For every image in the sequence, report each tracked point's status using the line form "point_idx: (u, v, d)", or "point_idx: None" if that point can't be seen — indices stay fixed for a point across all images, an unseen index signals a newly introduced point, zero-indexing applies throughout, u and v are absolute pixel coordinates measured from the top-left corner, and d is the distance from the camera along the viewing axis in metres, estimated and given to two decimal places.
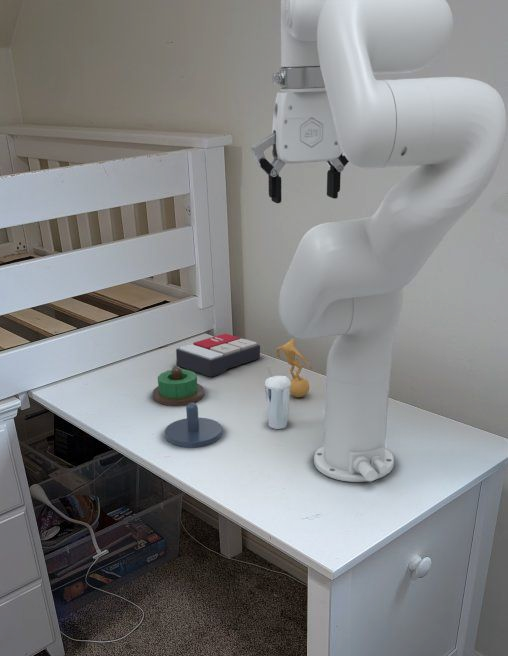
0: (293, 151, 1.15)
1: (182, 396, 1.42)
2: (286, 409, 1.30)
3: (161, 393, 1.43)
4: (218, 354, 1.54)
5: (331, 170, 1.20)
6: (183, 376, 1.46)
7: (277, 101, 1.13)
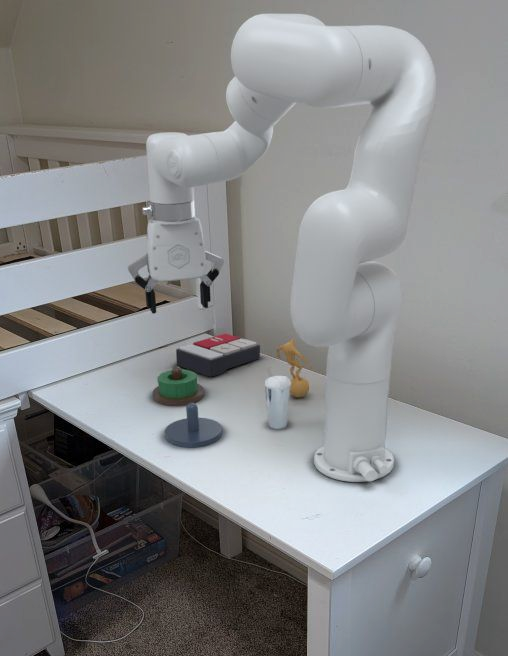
0: (163, 272, 1.30)
1: (182, 396, 1.42)
2: (286, 409, 1.30)
3: (161, 393, 1.43)
4: (218, 354, 1.54)
5: (202, 283, 1.36)
6: (183, 376, 1.46)
7: (147, 229, 1.28)
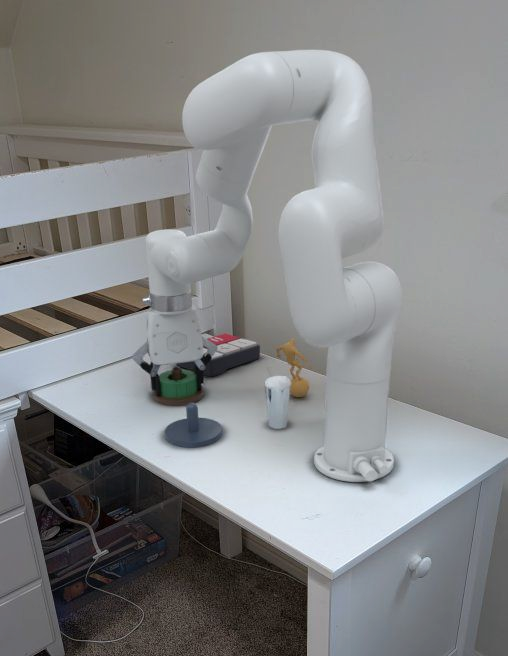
0: (162, 356, 1.38)
1: (182, 396, 1.42)
2: (286, 409, 1.30)
3: (161, 393, 1.43)
4: (218, 354, 1.54)
5: (195, 367, 1.44)
6: (183, 376, 1.46)
7: (147, 318, 1.37)
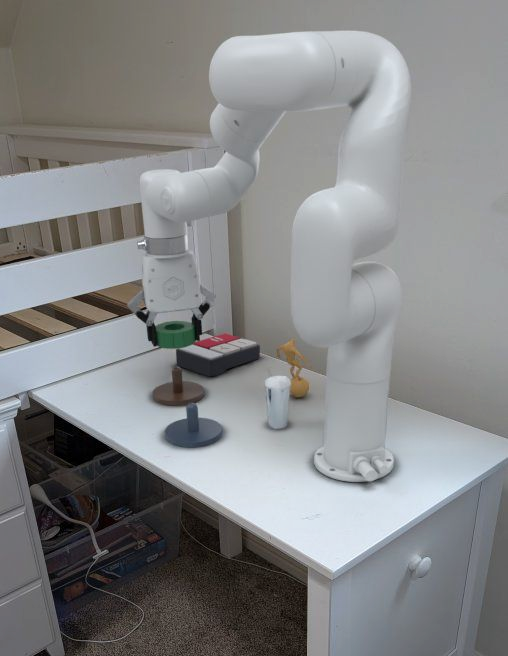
0: (158, 304, 1.33)
1: (179, 346, 1.37)
2: (286, 409, 1.30)
3: (158, 344, 1.38)
4: (218, 354, 1.54)
5: (193, 317, 1.39)
6: (180, 327, 1.40)
7: (143, 263, 1.32)
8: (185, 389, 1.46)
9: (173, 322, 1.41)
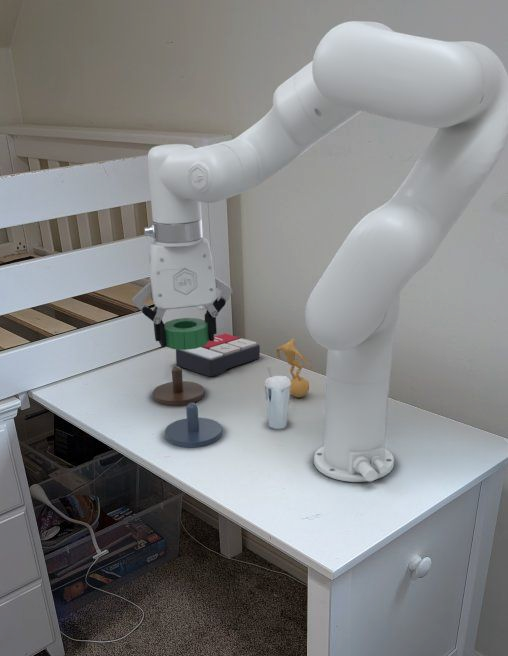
0: (168, 299, 1.17)
1: (191, 347, 1.21)
2: (286, 409, 1.30)
3: (166, 344, 1.22)
4: (218, 354, 1.54)
5: (207, 314, 1.23)
6: (192, 325, 1.24)
7: (150, 252, 1.15)
8: (185, 389, 1.46)
9: (184, 319, 1.25)
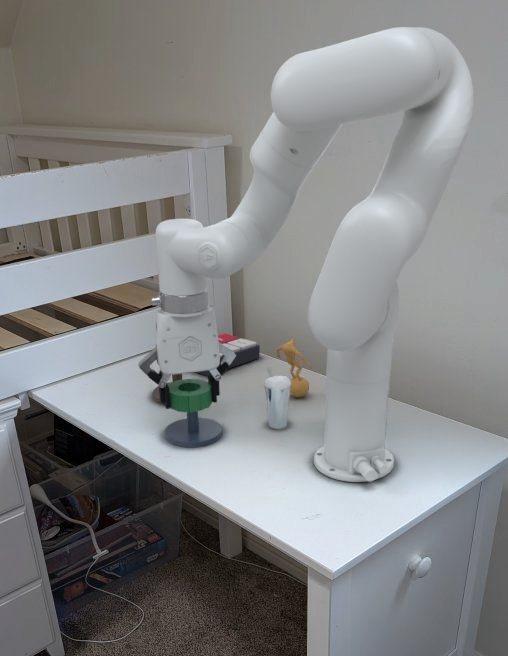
0: (173, 365, 1.21)
1: (195, 410, 1.24)
2: (286, 409, 1.30)
3: (171, 406, 1.26)
4: None
5: (210, 377, 1.27)
6: (196, 387, 1.28)
7: (157, 320, 1.19)
8: None
9: (188, 380, 1.29)
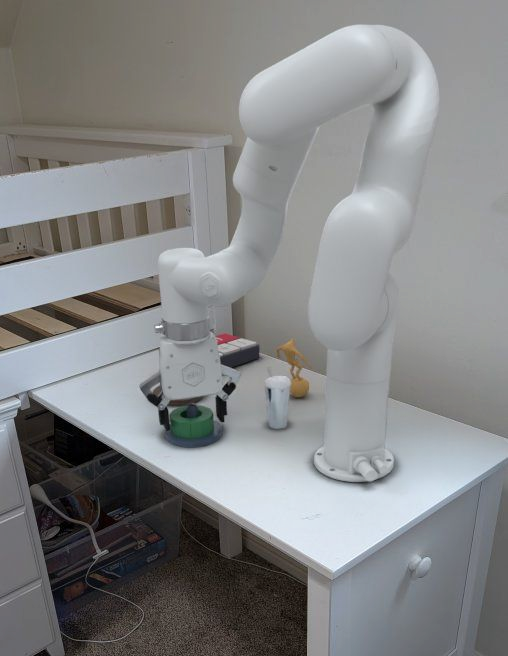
0: (177, 390, 1.23)
1: (197, 436, 1.27)
2: (286, 409, 1.30)
3: (173, 432, 1.28)
4: None
5: (218, 397, 1.29)
6: (198, 413, 1.30)
7: (160, 347, 1.21)
8: None
9: None
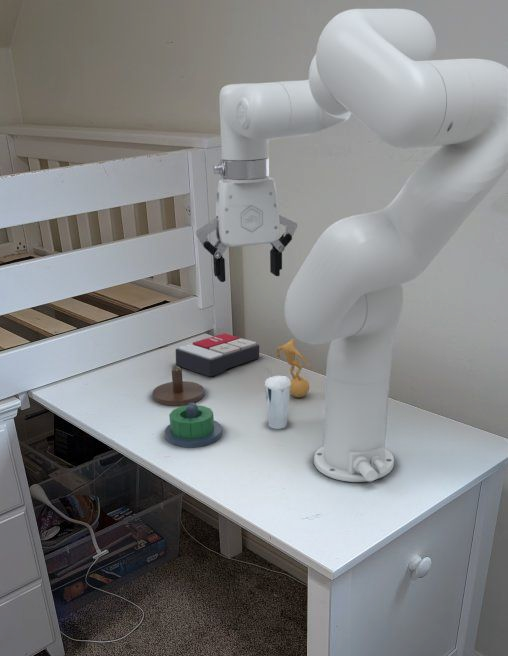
0: (234, 236, 1.21)
1: (197, 436, 1.27)
2: (286, 409, 1.30)
3: (173, 433, 1.28)
4: (217, 354, 1.54)
5: (273, 250, 1.27)
6: (198, 413, 1.30)
7: (218, 190, 1.20)
8: (185, 389, 1.46)
9: None
